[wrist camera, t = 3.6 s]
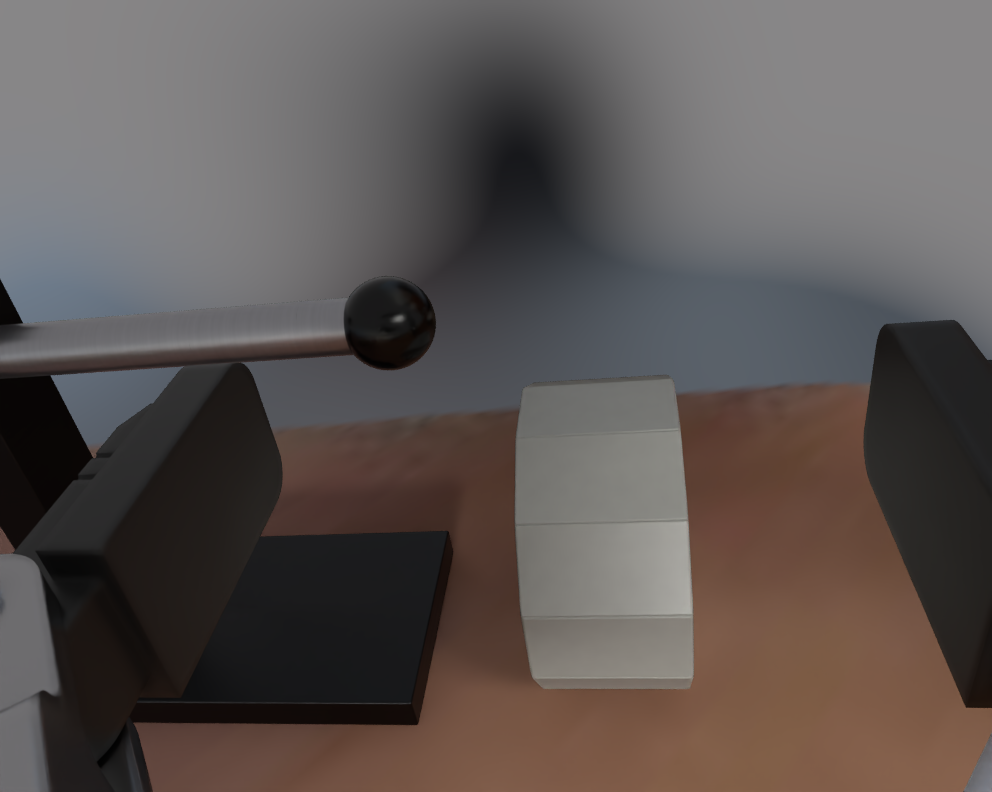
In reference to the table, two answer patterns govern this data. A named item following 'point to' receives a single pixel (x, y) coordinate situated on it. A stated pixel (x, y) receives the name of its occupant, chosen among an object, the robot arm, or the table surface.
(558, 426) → the tape roll
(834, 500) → the table surface
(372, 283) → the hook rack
